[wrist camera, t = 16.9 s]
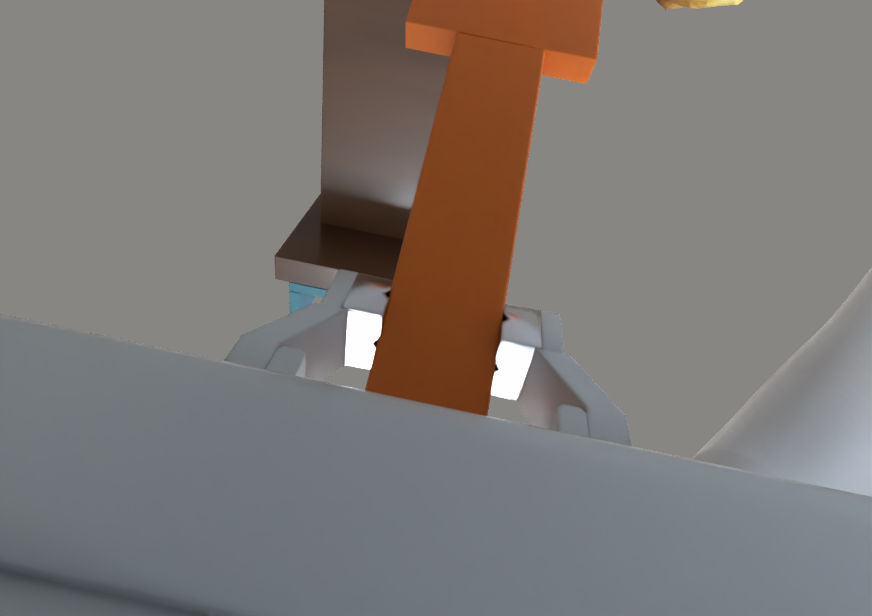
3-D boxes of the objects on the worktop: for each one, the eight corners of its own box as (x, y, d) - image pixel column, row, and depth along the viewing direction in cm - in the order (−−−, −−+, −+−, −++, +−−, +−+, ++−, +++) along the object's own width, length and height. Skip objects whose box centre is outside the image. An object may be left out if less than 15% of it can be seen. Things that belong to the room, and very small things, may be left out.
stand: (253, -212, 22) (275, 279, 38) (556, -155, 22) (453, 316, 38) (352, -168, 35) (338, 186, 50) (546, -131, 35) (472, 213, 50)
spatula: (287, 399, 12) (299, 413, 13) (556, 456, 11) (539, 464, 13) (452, -131, 19) (448, -87, 21) (613, -99, 19) (599, -57, 21)
